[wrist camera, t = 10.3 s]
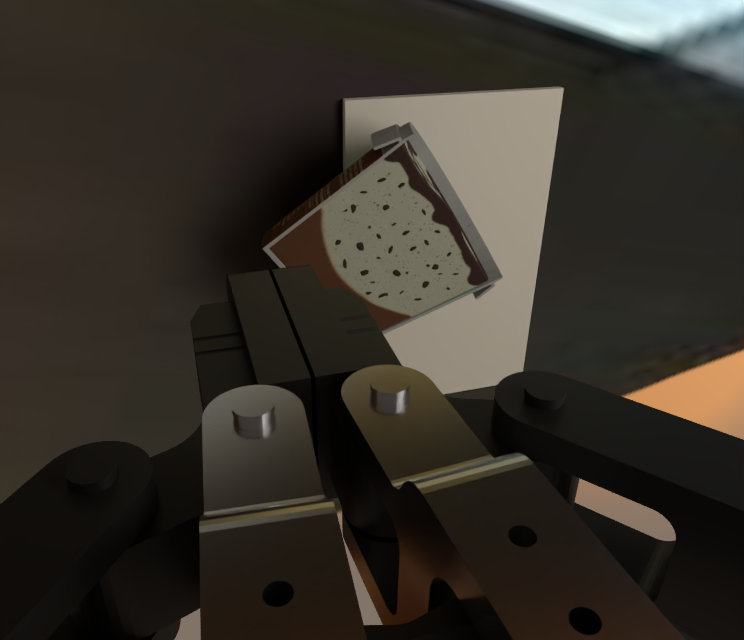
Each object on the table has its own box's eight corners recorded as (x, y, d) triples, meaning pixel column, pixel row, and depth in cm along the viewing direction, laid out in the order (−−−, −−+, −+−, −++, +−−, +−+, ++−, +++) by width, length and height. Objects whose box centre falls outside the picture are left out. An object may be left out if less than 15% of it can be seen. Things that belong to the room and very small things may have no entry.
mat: (344, 406, 52) (346, 410, 51) (342, 98, 41) (345, 100, 40) (518, 377, 55) (521, 380, 55) (559, 86, 44) (563, 88, 44)
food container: (352, 301, 49) (478, 227, 47) (366, 361, 45) (506, 283, 42) (242, 173, 42) (386, 77, 39) (245, 229, 37) (408, 125, 35)
